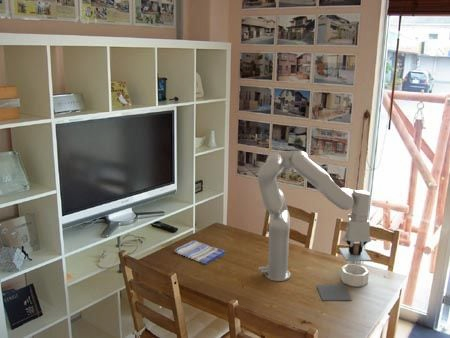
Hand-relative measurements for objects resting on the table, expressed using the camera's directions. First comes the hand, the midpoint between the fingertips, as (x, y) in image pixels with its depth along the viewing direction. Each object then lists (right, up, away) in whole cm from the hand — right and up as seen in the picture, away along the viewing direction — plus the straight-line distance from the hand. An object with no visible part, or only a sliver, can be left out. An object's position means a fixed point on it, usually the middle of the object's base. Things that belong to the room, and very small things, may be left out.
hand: (355, 253), depth 219 cm
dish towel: (-75, -7, +33) cm, 82 cm away
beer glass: (+4, -11, +16) cm, 20 cm away
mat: (-12, -17, -7) cm, 22 cm away
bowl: (+1, -14, +4) cm, 15 cm away
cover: (0, -1, 0) cm, 1 cm away
